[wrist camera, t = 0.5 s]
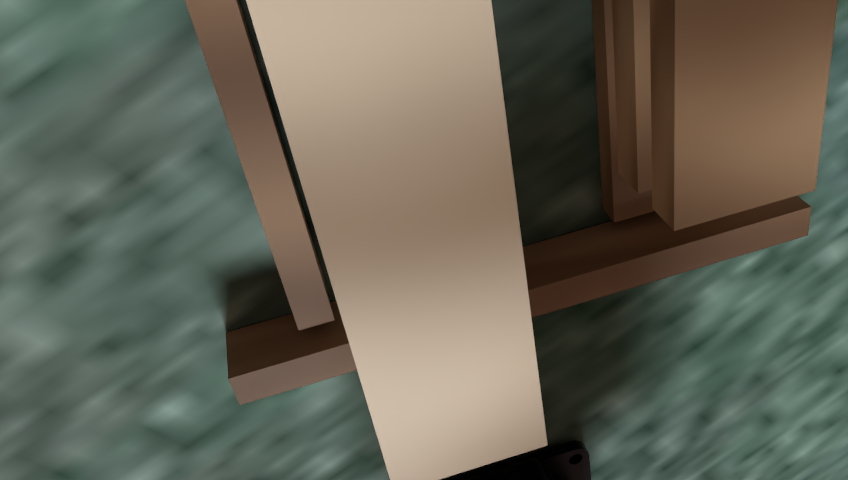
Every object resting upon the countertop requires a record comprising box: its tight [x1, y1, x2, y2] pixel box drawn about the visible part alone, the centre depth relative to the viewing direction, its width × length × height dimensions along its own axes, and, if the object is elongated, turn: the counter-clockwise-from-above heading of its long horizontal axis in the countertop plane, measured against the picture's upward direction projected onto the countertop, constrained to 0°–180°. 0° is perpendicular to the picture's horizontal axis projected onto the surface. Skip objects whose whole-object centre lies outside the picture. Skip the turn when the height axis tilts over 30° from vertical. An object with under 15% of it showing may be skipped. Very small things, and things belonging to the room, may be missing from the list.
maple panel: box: [246, 0, 547, 480], centre depth 16 cm, size 10×3×9 cm, turn 10°
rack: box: [185, 0, 811, 405], centre depth 19 cm, size 16×17×2 cm
